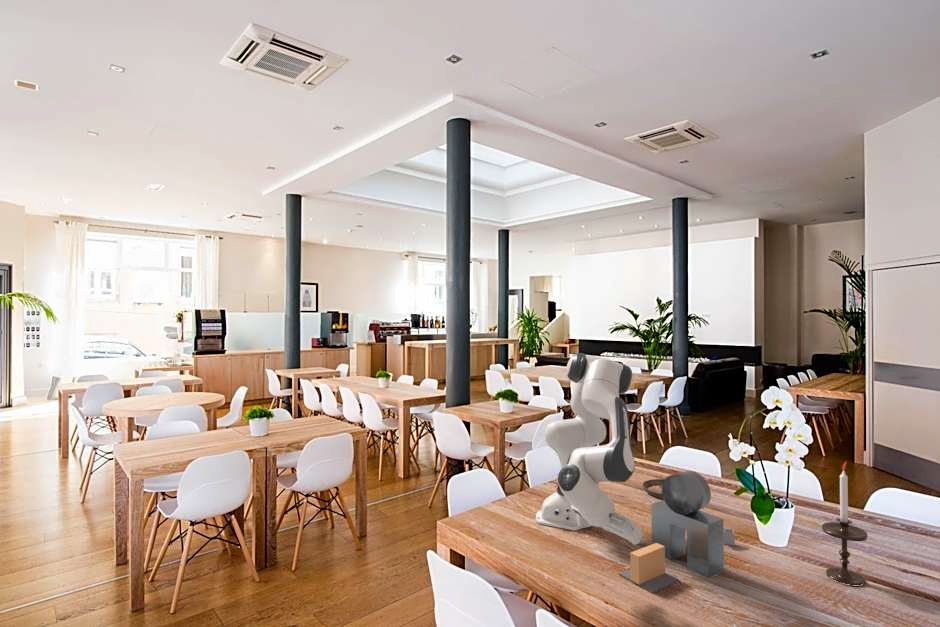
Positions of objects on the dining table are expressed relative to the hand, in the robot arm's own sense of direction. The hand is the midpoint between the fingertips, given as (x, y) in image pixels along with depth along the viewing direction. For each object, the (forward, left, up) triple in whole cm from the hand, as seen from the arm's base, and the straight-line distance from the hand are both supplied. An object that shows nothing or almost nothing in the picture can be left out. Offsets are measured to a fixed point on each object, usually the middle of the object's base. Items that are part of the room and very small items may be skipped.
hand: (621, 535), depth 146 cm
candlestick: (+63, +24, -15) cm, 69 cm away
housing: (+20, +22, -15) cm, 33 cm away
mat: (+8, +8, -15) cm, 19 cm away
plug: (+7, +8, -15) cm, 18 cm away
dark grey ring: (+19, +88, -16) cm, 91 cm away
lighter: (+33, +40, -15) cm, 54 cm away
